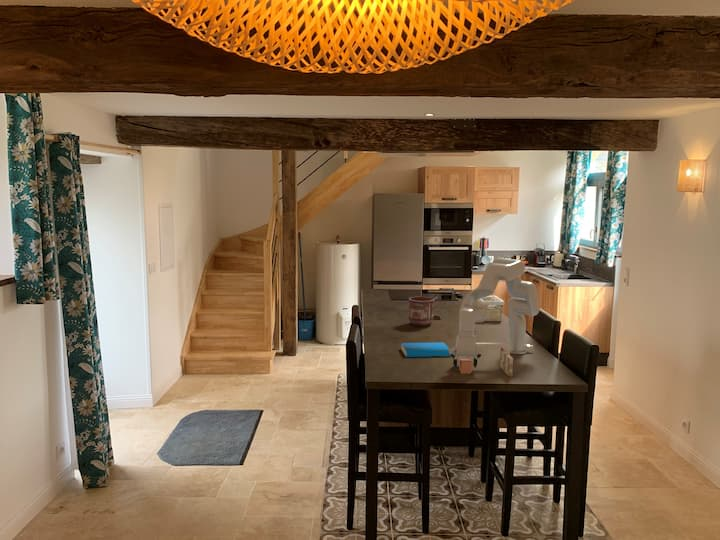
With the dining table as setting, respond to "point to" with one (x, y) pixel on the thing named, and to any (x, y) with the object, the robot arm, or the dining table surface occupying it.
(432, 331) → the dining table surface
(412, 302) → the pottery
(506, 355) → the beige wavy panel
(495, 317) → the storage basket
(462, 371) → the salmon pink cube
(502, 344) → the wall frame
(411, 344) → the book
